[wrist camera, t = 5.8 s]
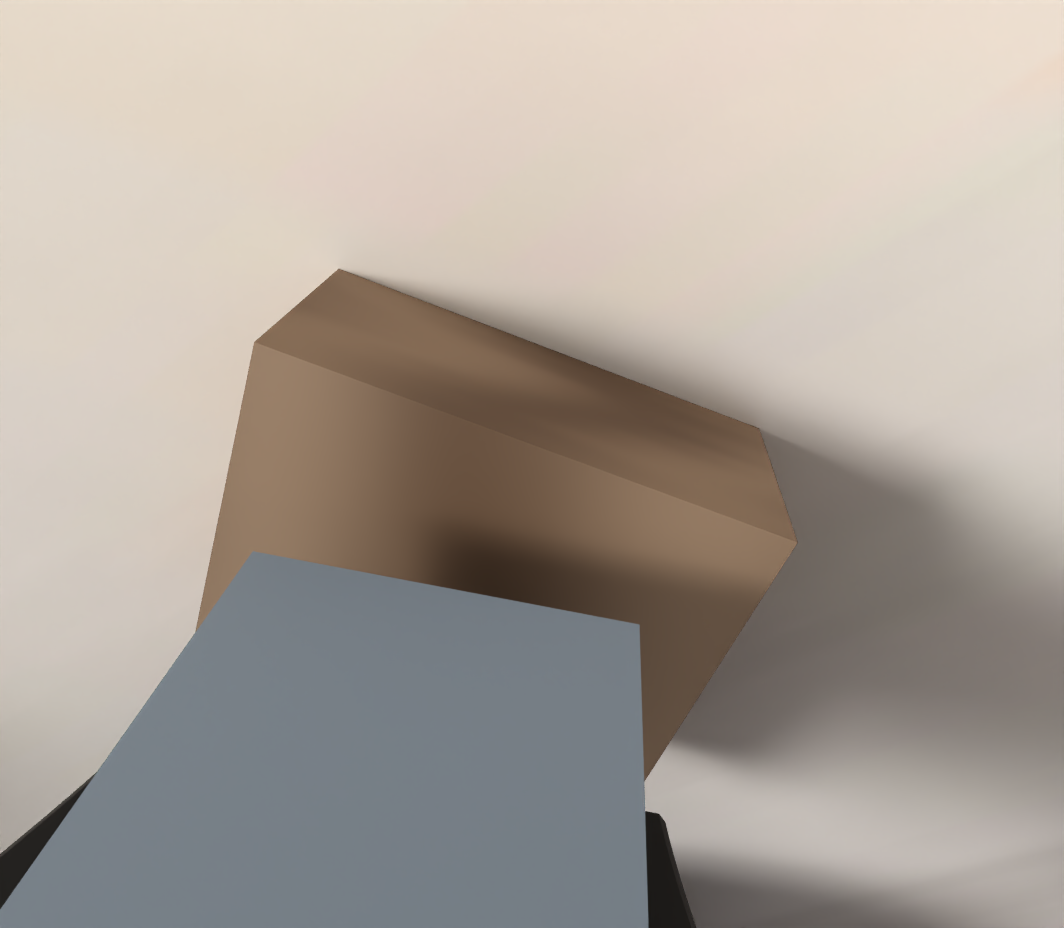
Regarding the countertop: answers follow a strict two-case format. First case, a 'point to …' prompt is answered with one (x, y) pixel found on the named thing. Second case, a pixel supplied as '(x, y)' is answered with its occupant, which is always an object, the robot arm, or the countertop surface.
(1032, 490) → the countertop surface
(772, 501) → the walnut plinth
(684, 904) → the robot arm
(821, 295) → the countertop surface
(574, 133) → the countertop surface
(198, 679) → the slate block
